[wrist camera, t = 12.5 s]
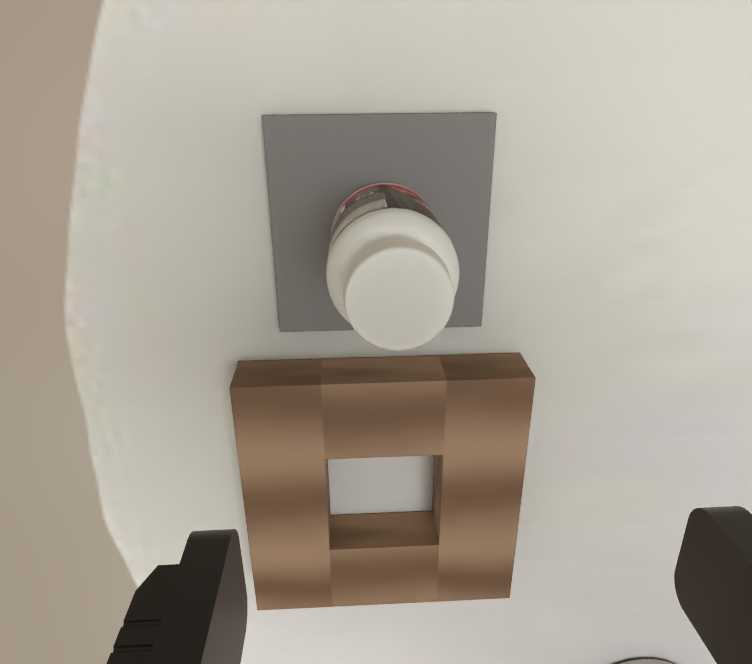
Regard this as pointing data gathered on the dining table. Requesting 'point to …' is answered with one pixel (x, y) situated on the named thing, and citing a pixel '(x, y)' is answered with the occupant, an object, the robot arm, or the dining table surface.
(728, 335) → the dining table surface
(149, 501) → the dining table surface
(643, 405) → the dining table surface
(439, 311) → the pill bottle
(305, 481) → the walnut dock
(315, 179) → the charcoal mat
